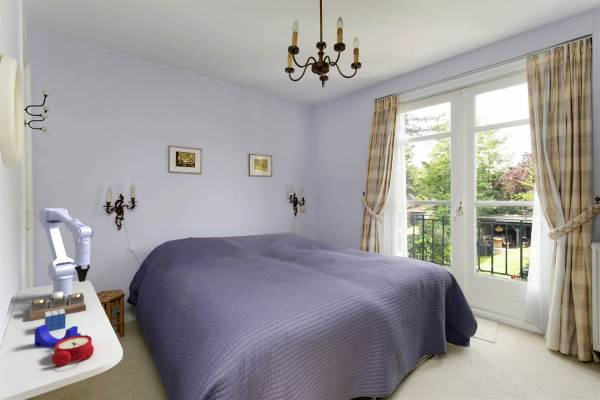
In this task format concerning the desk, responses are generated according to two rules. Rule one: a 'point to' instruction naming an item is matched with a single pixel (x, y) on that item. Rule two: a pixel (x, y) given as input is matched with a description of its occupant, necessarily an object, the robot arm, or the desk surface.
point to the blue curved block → (47, 339)
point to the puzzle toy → (55, 319)
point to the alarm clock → (73, 350)
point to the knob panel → (56, 306)
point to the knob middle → (57, 295)
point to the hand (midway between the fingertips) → (81, 281)
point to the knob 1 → (38, 301)
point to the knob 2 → (76, 295)
